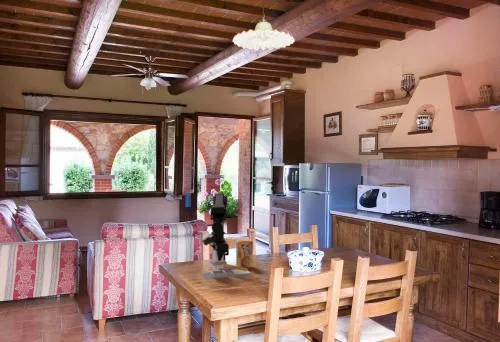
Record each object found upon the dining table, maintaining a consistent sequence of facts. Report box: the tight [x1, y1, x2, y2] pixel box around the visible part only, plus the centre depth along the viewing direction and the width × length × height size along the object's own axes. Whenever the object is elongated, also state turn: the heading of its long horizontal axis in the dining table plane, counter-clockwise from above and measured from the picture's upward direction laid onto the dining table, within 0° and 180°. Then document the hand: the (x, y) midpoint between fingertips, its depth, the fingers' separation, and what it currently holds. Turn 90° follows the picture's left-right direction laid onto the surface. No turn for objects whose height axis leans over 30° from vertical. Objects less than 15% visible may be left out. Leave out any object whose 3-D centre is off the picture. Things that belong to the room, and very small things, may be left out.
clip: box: [223, 263, 248, 271], centre depth 226 cm, size 19×2×1 cm, turn 52°
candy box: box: [235, 239, 254, 269], centre depth 246 cm, size 9×4×15 cm, turn 110°
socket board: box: [199, 268, 255, 281], centre depth 226 cm, size 13×26×4 cm, turn 109°
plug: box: [209, 249, 228, 270], centre depth 224 cm, size 7×7×9 cm
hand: (218, 259), depth 224 cm, fingers closed on plug, 4 cm apart
